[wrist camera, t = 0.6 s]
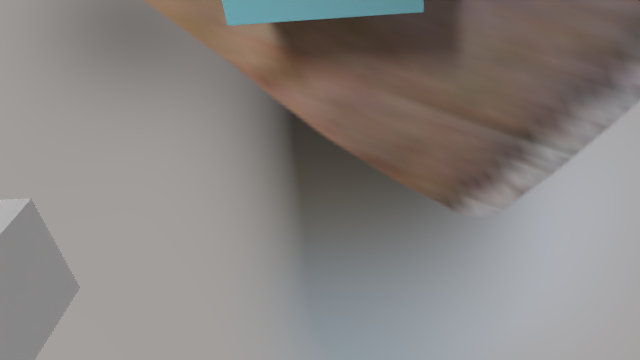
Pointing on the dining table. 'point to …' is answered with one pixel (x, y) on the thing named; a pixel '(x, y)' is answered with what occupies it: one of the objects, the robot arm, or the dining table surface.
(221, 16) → the dining table surface
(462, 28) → the dining table surface
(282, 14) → the block
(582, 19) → the dining table surface
